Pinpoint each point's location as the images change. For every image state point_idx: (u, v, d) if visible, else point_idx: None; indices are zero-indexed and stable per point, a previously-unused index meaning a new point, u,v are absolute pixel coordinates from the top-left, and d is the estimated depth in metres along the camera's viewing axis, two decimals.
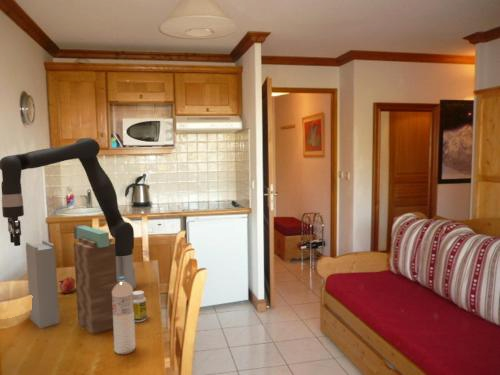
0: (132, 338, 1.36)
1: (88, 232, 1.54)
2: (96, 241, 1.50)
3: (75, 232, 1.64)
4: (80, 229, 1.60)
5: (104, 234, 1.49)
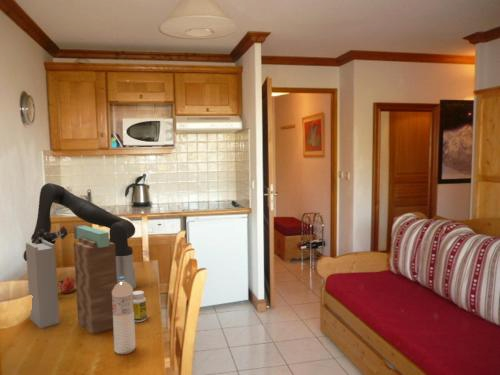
0: (132, 338, 1.36)
1: (88, 232, 1.54)
2: (96, 241, 1.50)
3: (75, 232, 1.64)
4: (80, 229, 1.60)
5: (104, 234, 1.49)
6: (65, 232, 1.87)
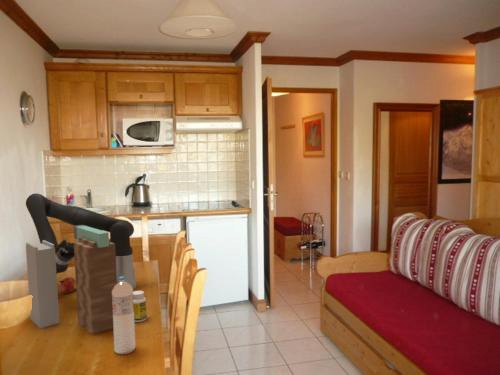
0: (132, 338, 1.36)
1: (88, 232, 1.54)
2: (96, 241, 1.50)
3: (75, 232, 1.64)
4: (80, 229, 1.60)
5: (104, 234, 1.49)
6: None
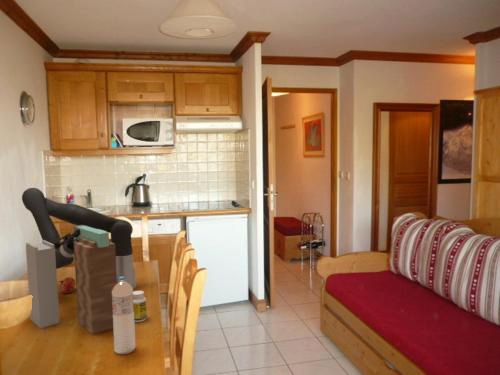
0: (132, 338, 1.36)
1: (88, 232, 1.54)
2: (96, 241, 1.50)
3: None
4: (80, 229, 1.60)
5: (104, 234, 1.49)
6: None
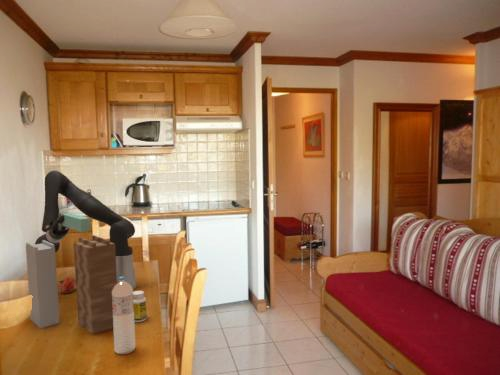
0: (132, 338, 1.36)
1: (71, 218, 1.66)
2: (78, 226, 1.61)
3: None
4: (64, 215, 1.71)
5: (86, 219, 1.60)
6: None
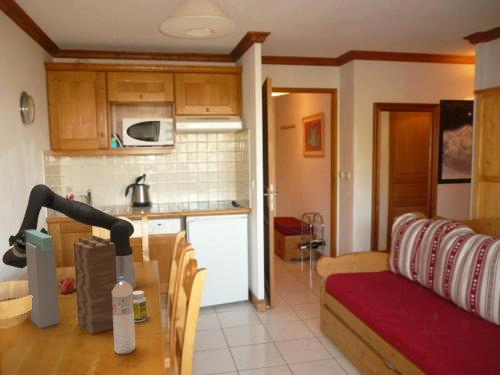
0: (132, 338, 1.36)
1: (34, 236, 1.58)
2: (40, 245, 1.53)
3: (25, 236, 1.68)
4: (28, 233, 1.64)
5: (48, 238, 1.53)
6: None
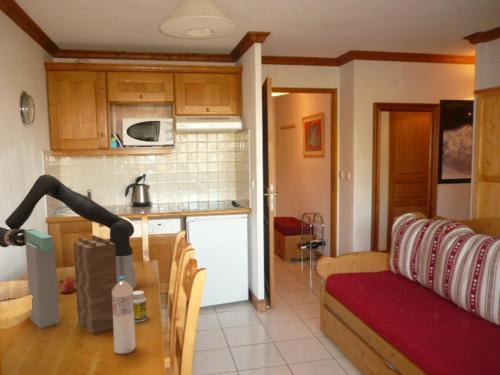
0: (132, 338, 1.36)
1: (34, 236, 1.58)
2: (40, 245, 1.53)
3: (25, 236, 1.68)
4: (28, 233, 1.64)
5: (48, 238, 1.53)
6: None
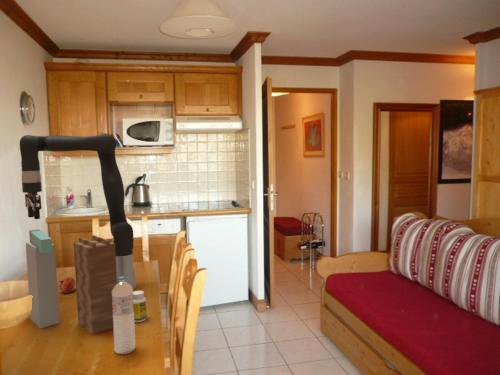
0: (132, 338, 1.36)
1: (36, 237, 1.56)
2: (39, 247, 1.51)
3: (30, 236, 1.67)
4: (32, 234, 1.63)
5: (46, 240, 1.50)
6: None
